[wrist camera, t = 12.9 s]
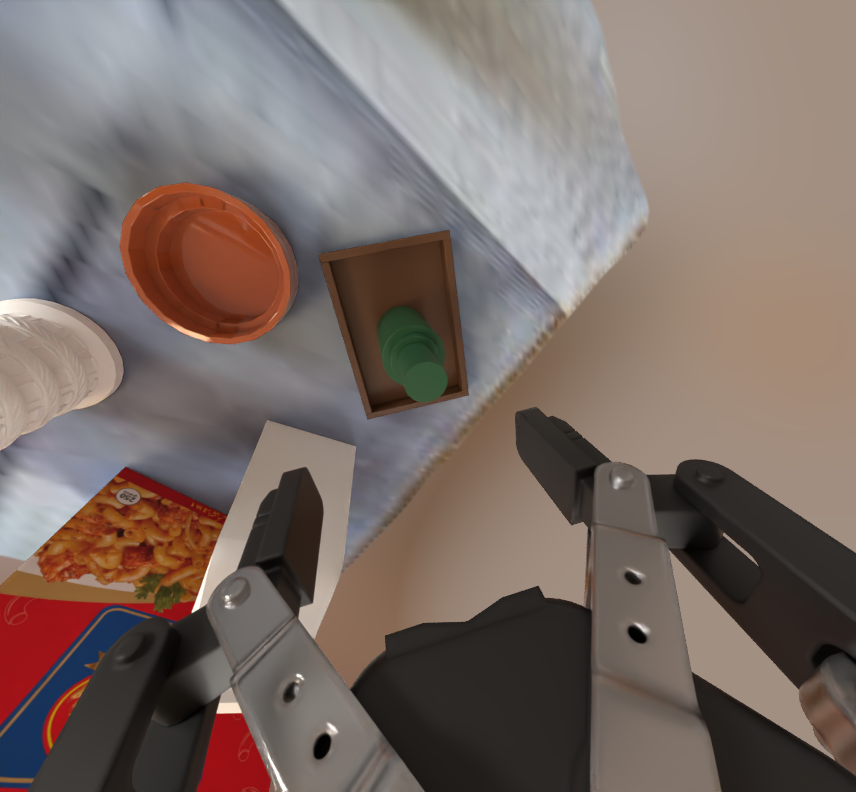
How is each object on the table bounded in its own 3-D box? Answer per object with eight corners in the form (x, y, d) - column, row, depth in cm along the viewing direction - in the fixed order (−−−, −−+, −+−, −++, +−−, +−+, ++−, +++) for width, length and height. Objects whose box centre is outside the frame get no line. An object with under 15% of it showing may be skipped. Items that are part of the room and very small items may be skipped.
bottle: (371, 311, 36) (378, 354, 22) (421, 301, 37) (459, 336, 23) (383, 359, 39) (396, 424, 25) (429, 349, 40) (467, 407, 25)
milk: (356, 446, 44) (351, 662, 21) (327, 505, 48) (297, 744, 25) (267, 419, 40) (143, 654, 17) (242, 486, 44) (113, 754, 21)
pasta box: (308, 553, 52) (261, 837, 27) (277, 581, 53) (204, 875, 28) (125, 466, 39) (-273, 844, 15) (90, 505, 41) (-330, 911, 16)
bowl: (124, 205, 29) (81, 198, 24) (271, 182, 30) (255, 171, 25) (197, 342, 35) (173, 356, 30) (316, 318, 36) (309, 328, 32)
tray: (320, 253, 33) (318, 254, 31) (443, 230, 35) (449, 229, 32) (367, 410, 42) (367, 419, 40) (463, 387, 44) (468, 395, 41)
